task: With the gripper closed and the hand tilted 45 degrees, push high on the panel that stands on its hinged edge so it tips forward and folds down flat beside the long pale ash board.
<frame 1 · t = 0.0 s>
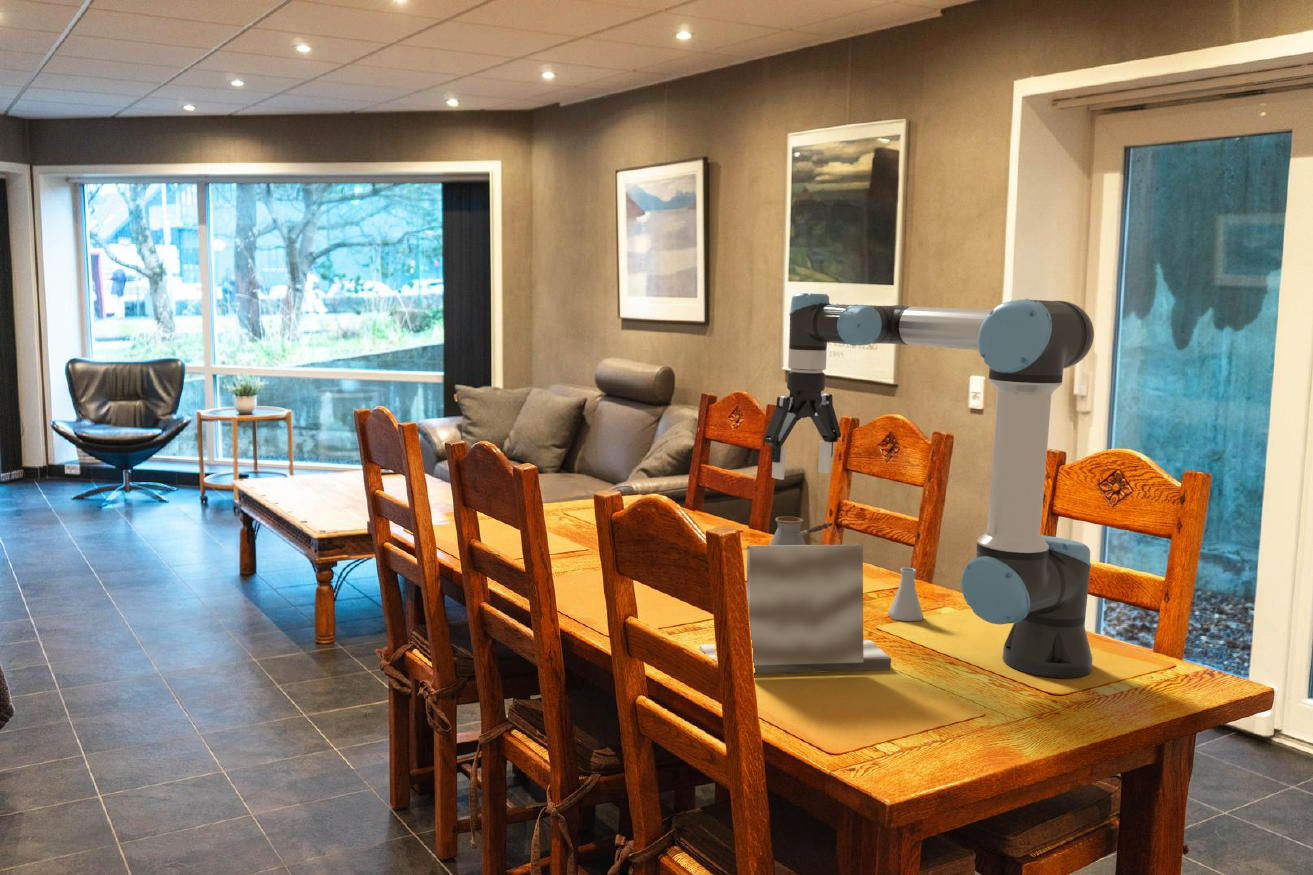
hand: (801, 475, 224), 28 cm above the table, tool pointing down, fingers open, 13 cm apart
lemon: (782, 606, 231), on the table
board: (793, 662, 195), on the table
coffee pot: (799, 579, 253), on the table
panel: (805, 604, 189), point 12 cm above the table, hinge at 100.0°
flask: (905, 618, 225), on the table
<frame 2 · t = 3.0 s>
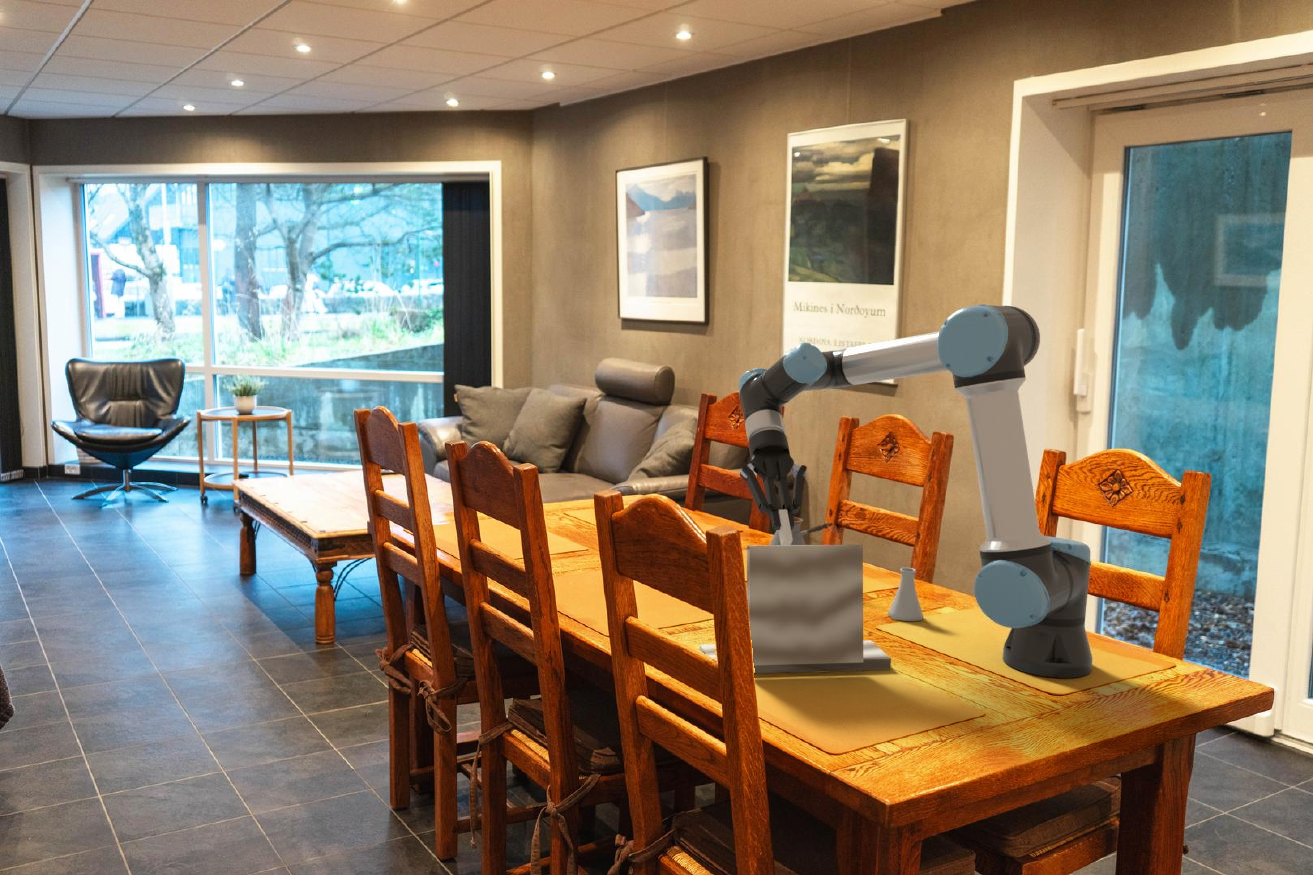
hand: (787, 543, 200), 20 cm above the table, tool tilted 45°, fingers closed
nothing on the table moved.
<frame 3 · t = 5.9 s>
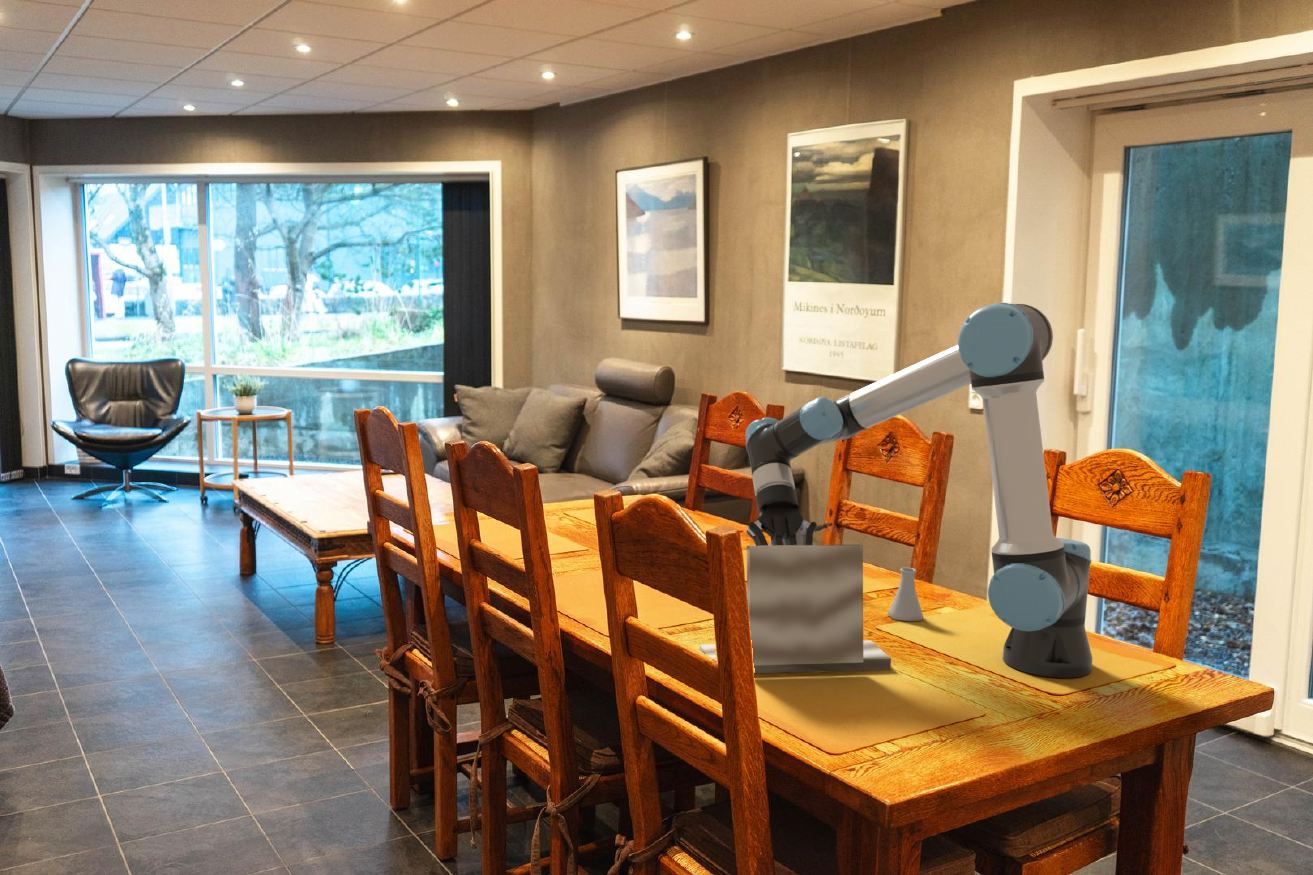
hand: (796, 607, 191), 11 cm above the table, tool tilted 45°, fingers closed
panel: (805, 604, 189), point 12 cm above the table, hinge at 99.9°, touching gripper
everything else where it was.
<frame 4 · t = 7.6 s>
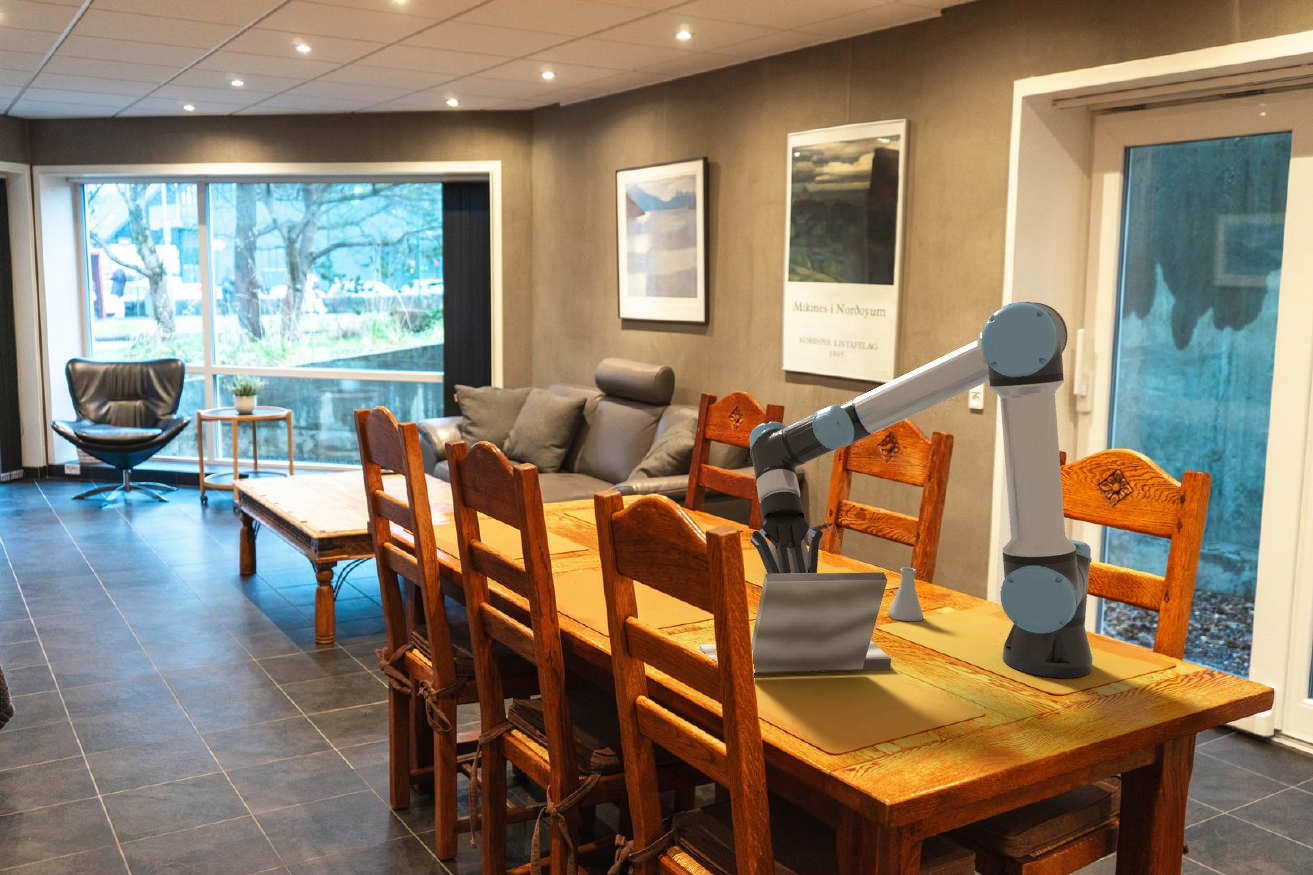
hand: (801, 619, 185), 10 cm above the table, tool tilted 45°, fingers closed
panel: (815, 622, 183), point 11 cm above the table, hinge at 64.1°
everything else where it was.
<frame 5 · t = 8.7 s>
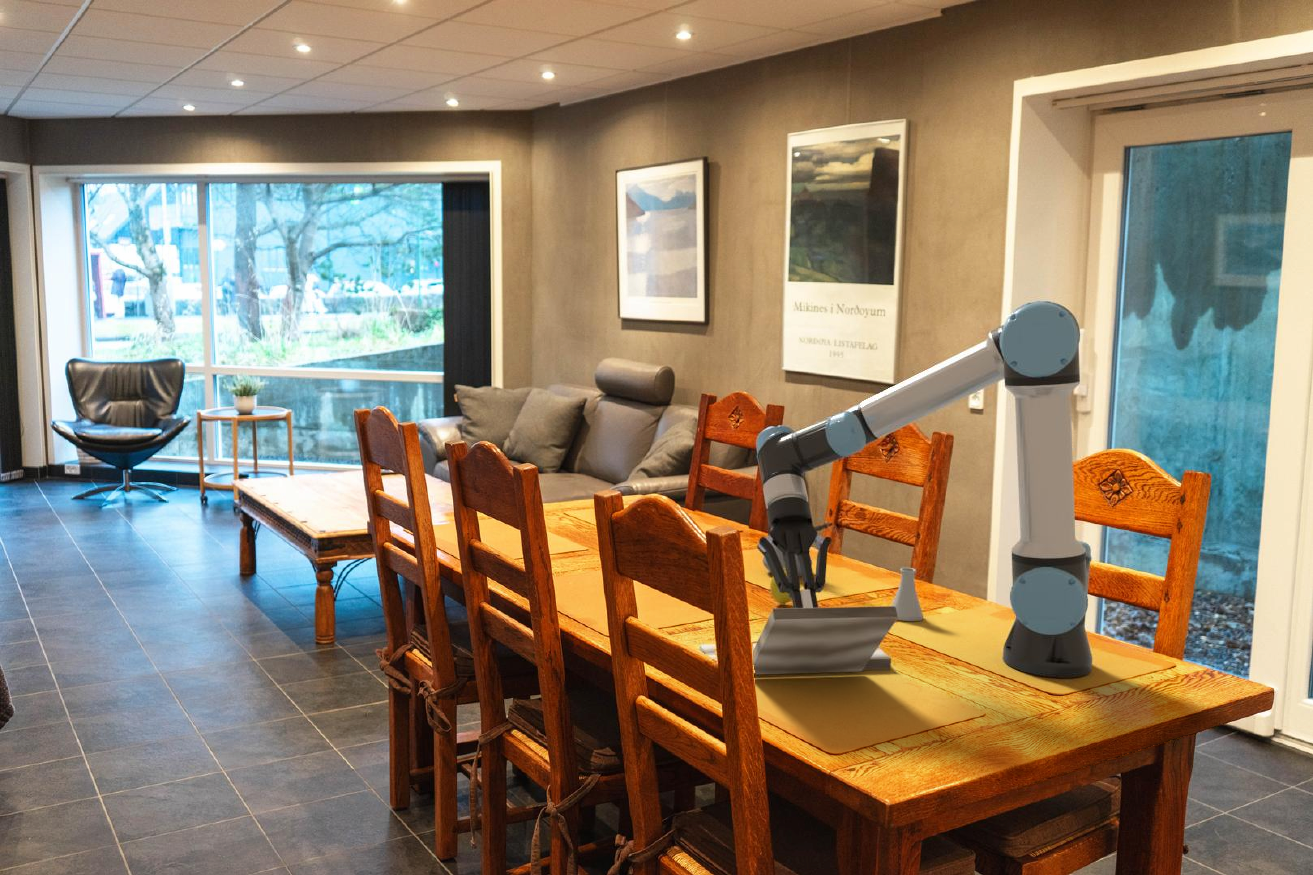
hand: (809, 628, 180), 11 cm above the table, tool tilted 45°, fingers closed
panel: (819, 641, 181), point 8 cm above the table, hinge at 44.2°
everything else where it was.
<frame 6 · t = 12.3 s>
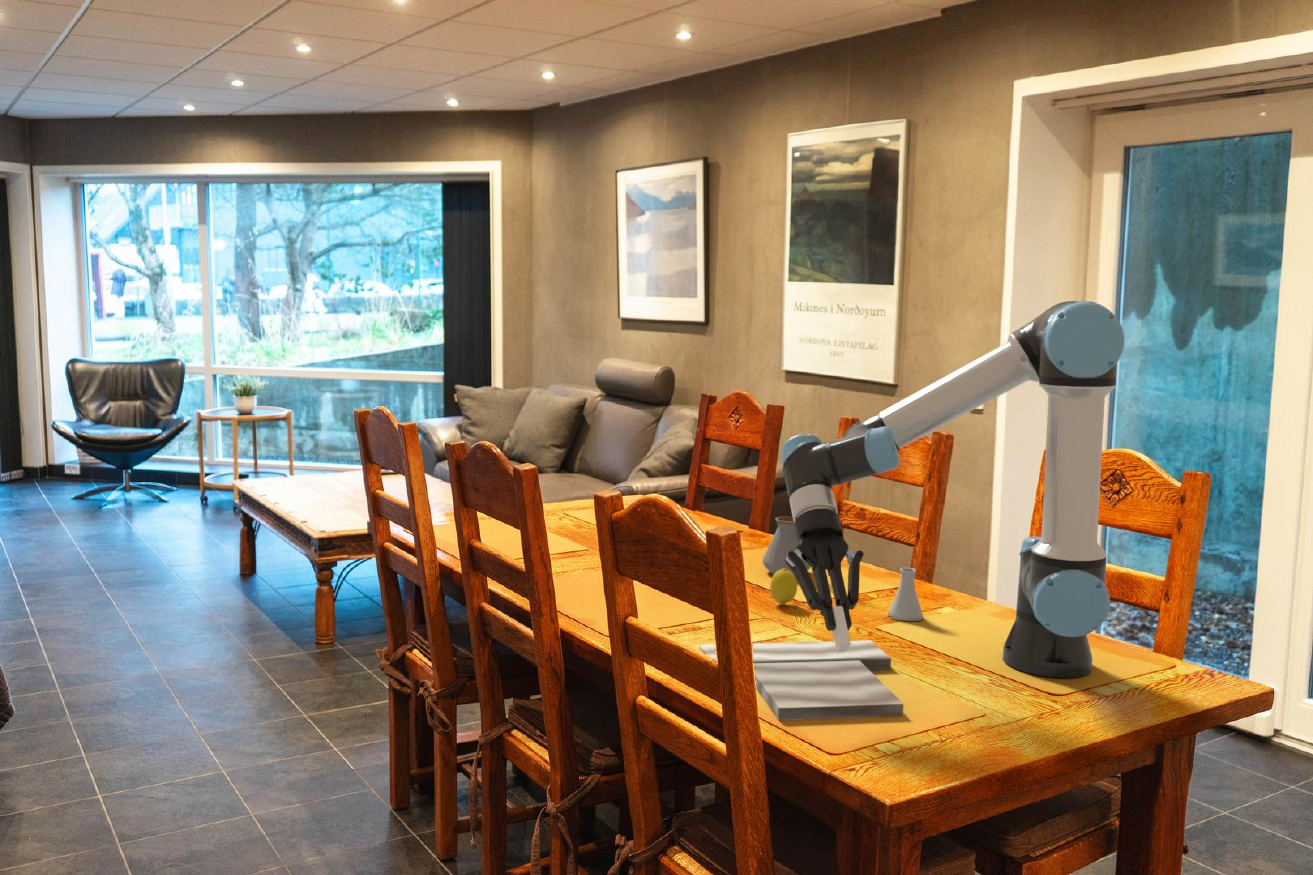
hand: (843, 647, 169), 11 cm above the table, tool tilted 45°, fingers closed
panel: (821, 688, 180), point 1 cm above the table, hinge at 0.0°
everything else where it was.
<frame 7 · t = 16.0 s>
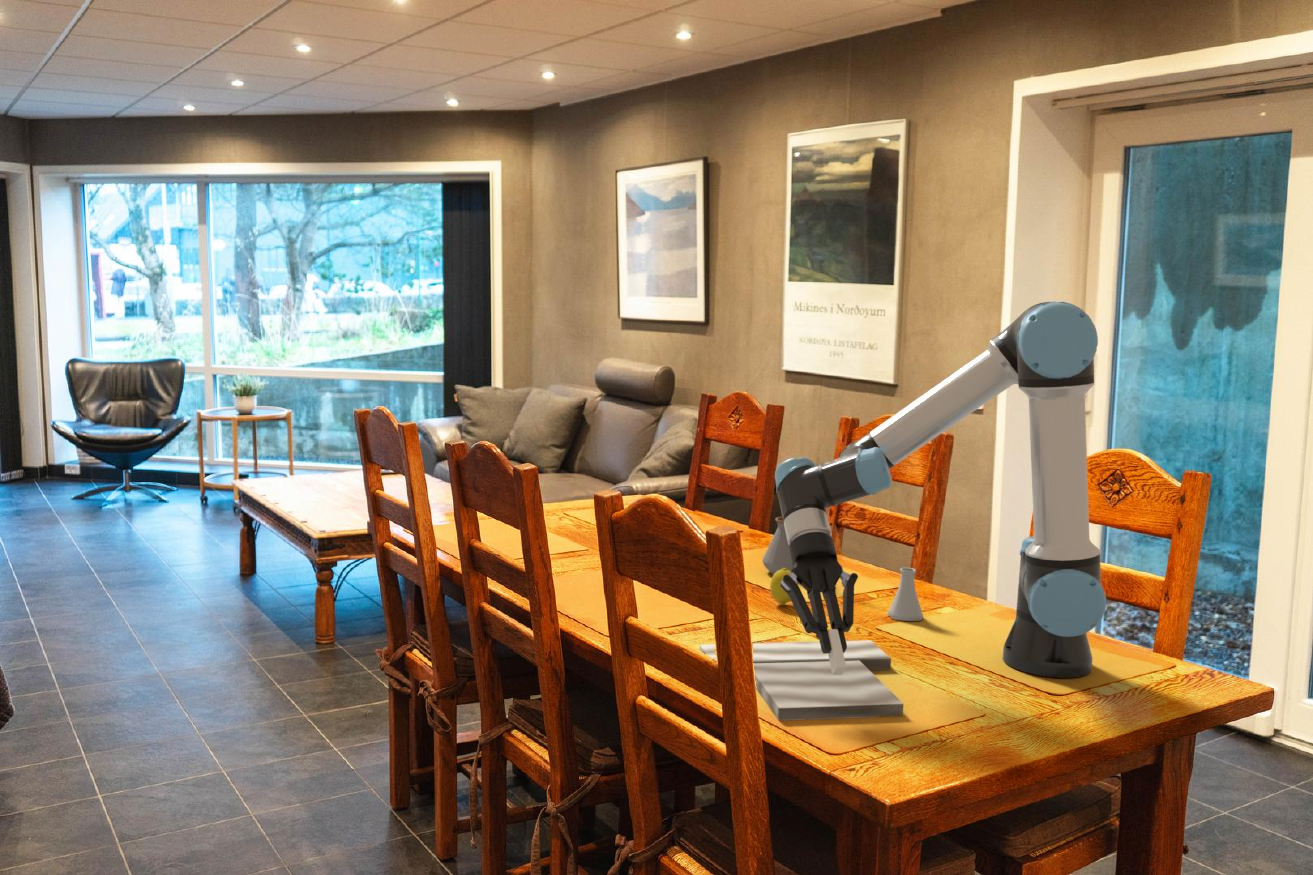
hand: (839, 670, 171), 7 cm above the table, tool tilted 45°, fingers closed
nothing on the table moved.
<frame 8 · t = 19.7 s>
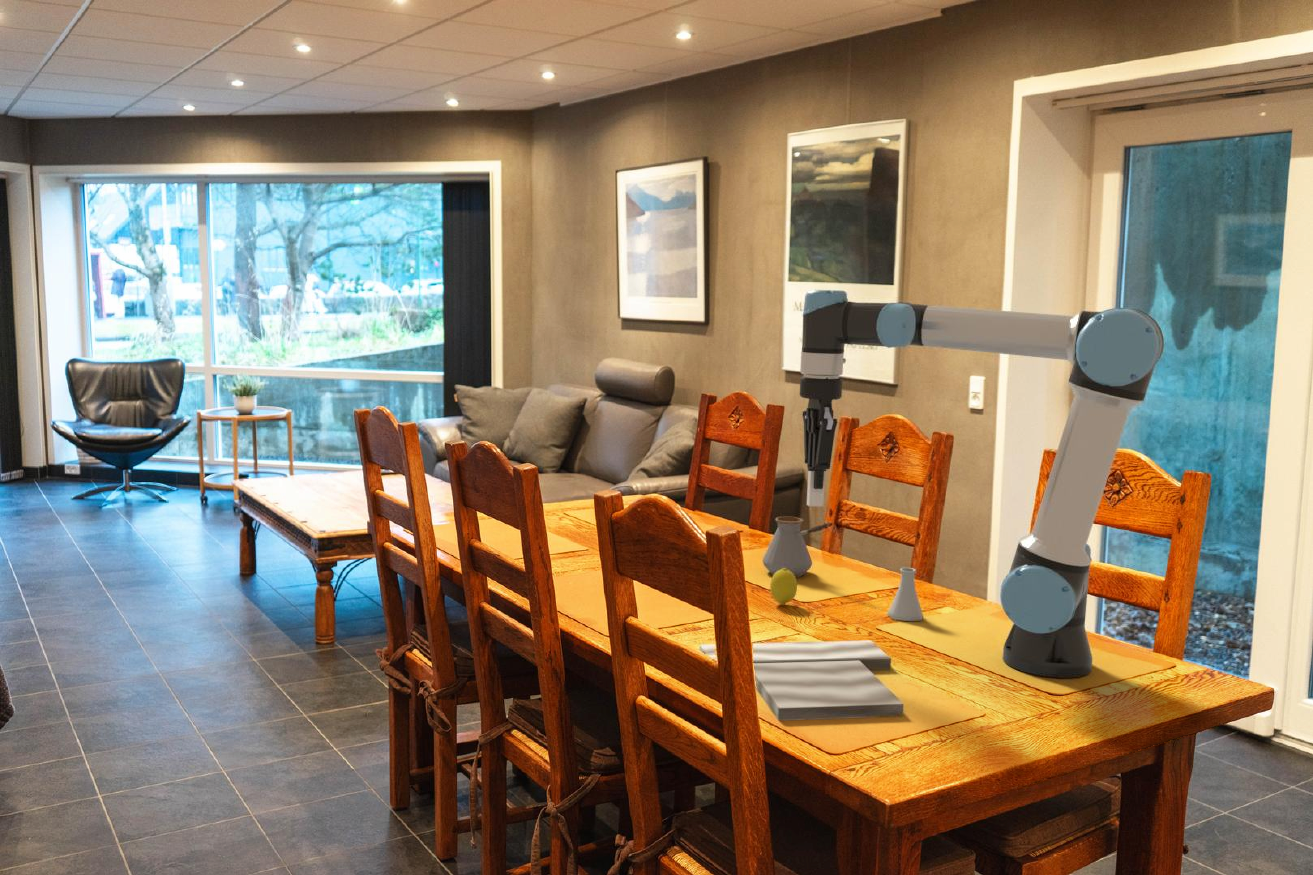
hand: (815, 505, 202), 26 cm above the table, tool pointing down, fingers closed
nothing on the table moved.
at the end: panel at +0° (first picture: +100°); the gripper is holding nothing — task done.
